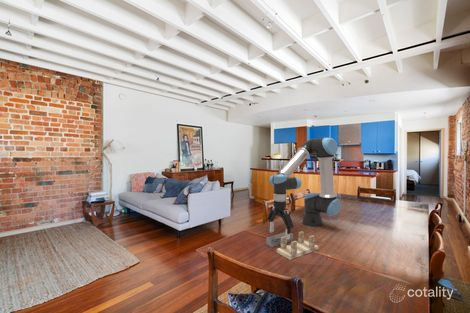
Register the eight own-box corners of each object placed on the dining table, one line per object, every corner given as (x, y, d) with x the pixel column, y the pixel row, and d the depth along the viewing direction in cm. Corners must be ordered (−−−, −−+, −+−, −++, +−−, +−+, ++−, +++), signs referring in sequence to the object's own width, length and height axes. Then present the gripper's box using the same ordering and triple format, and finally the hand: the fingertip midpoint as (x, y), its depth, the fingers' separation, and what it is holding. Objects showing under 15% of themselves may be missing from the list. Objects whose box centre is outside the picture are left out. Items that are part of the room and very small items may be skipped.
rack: (304, 243, 134) (304, 230, 134) (318, 249, 126) (318, 235, 126) (276, 252, 123) (276, 238, 122) (290, 259, 114) (290, 244, 114)
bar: (287, 238, 143) (287, 231, 143) (293, 240, 139) (293, 233, 139) (266, 245, 133) (266, 237, 133) (271, 247, 129) (271, 240, 129)
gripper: (261, 197, 144) (261, 230, 144) (290, 205, 123) (290, 243, 123) (270, 196, 148) (270, 228, 148) (300, 203, 127) (299, 241, 127)
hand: (279, 235), depth 136 cm, fingers open, 13 cm apart
